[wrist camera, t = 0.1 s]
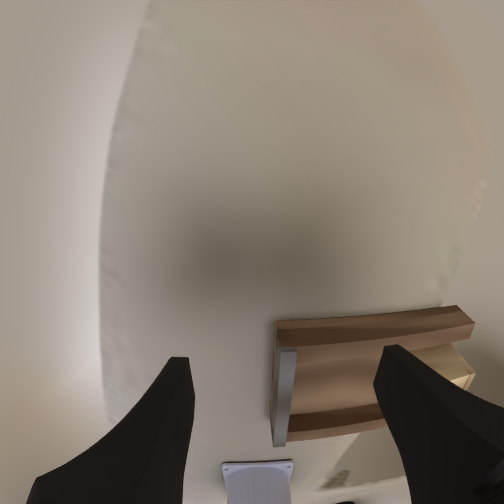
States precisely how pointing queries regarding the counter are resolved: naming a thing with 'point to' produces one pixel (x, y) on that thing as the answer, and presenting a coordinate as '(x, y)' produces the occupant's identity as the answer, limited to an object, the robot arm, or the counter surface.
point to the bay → (345, 368)
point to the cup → (346, 502)
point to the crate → (447, 363)
